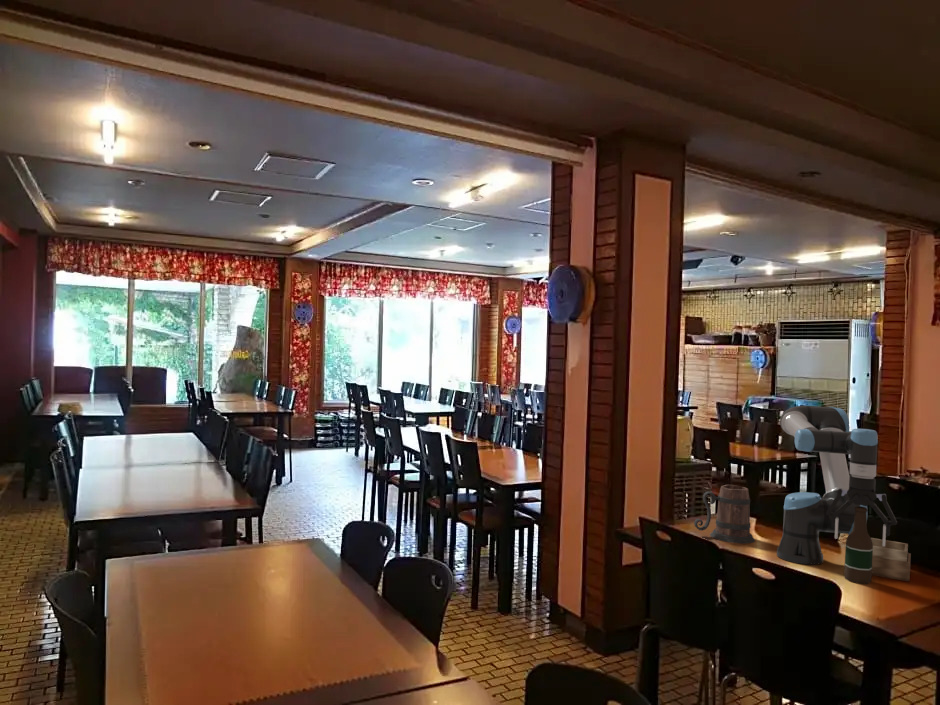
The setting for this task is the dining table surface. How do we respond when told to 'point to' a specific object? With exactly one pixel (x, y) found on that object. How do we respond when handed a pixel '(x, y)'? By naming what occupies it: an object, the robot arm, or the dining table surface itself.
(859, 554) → the beer bottle
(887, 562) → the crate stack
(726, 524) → the tankard
